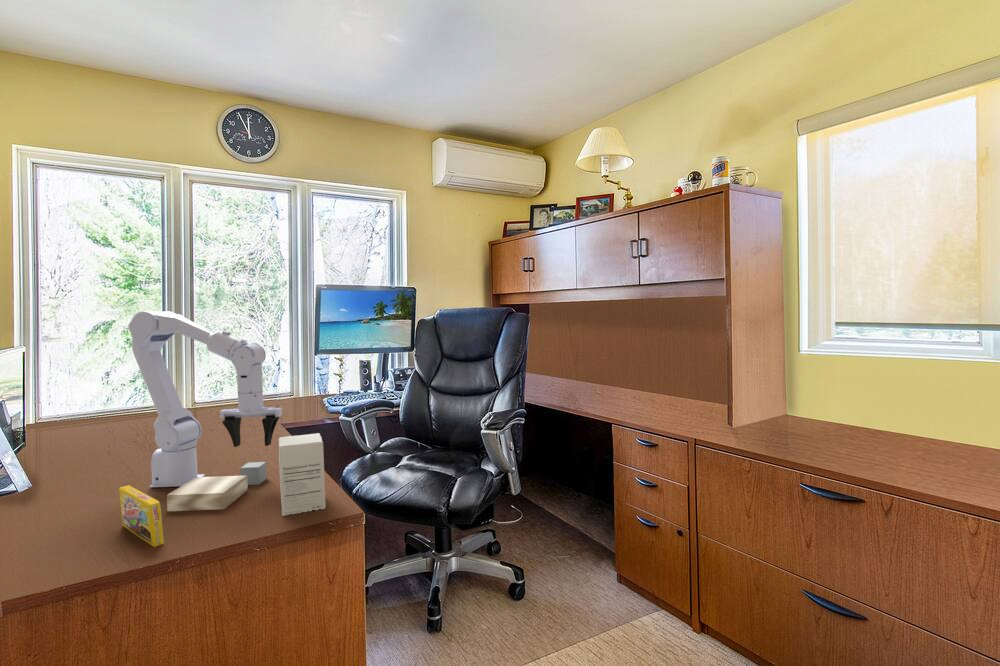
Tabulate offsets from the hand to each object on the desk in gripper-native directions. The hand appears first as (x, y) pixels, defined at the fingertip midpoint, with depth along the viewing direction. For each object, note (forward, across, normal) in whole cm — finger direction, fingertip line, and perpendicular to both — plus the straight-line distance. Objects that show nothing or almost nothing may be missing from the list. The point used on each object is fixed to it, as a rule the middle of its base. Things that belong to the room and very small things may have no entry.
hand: (252, 445), depth 130 cm
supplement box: (+10, +18, -18) cm, 27 cm away
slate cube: (+10, 0, 0) cm, 10 cm away
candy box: (+10, -9, -30) cm, 33 cm away
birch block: (+10, -5, -12) cm, 16 cm away
